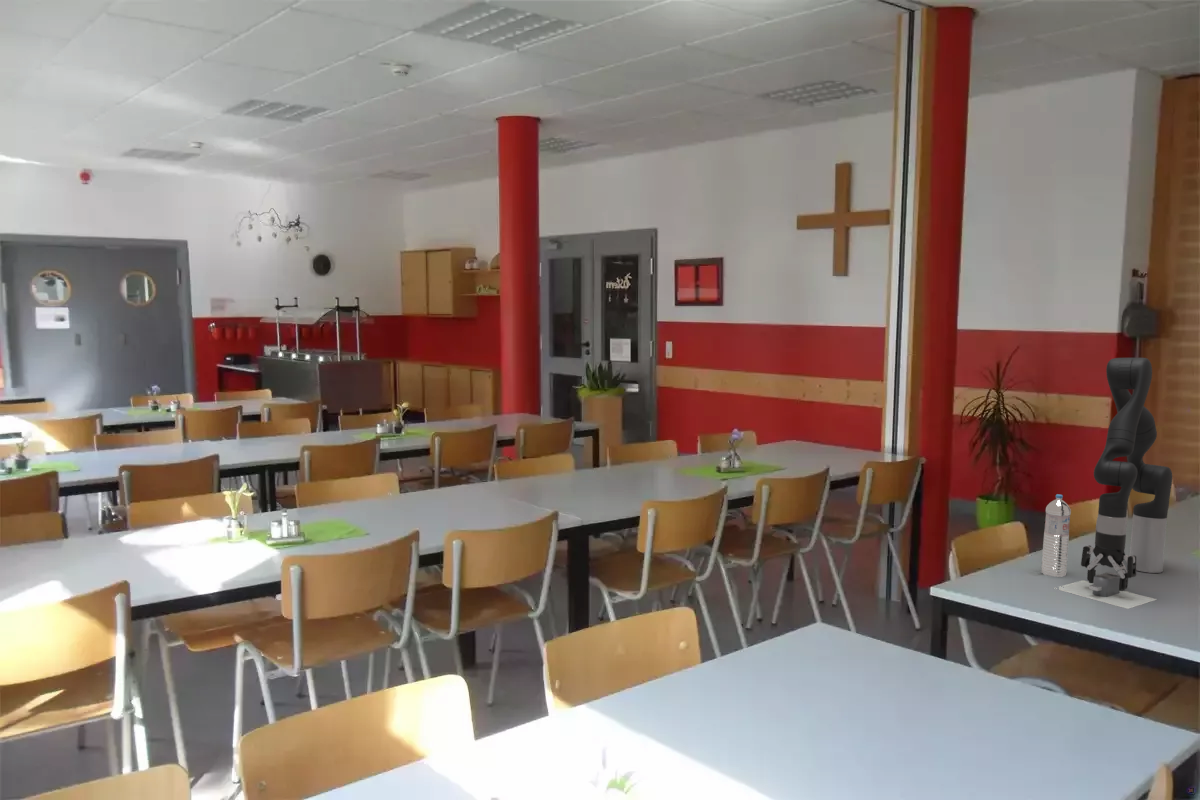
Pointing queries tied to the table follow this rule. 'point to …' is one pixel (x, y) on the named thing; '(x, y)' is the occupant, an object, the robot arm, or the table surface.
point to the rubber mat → (1121, 599)
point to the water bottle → (1056, 538)
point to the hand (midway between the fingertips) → (1106, 586)
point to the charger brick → (1105, 584)
